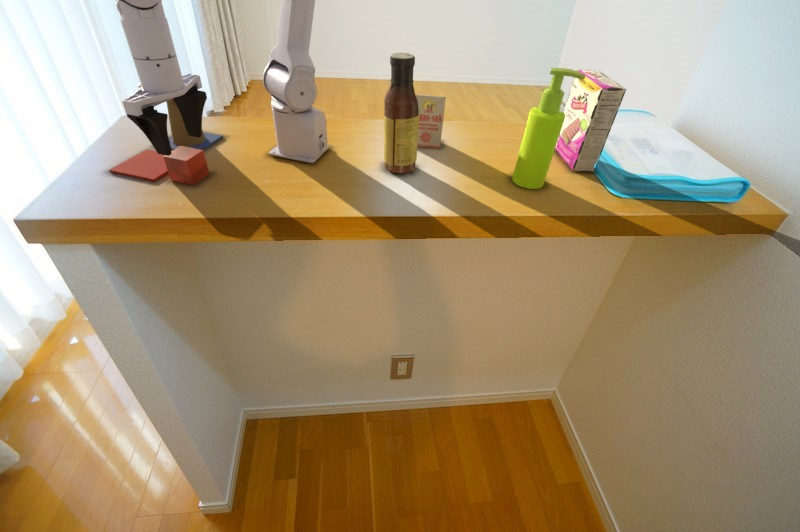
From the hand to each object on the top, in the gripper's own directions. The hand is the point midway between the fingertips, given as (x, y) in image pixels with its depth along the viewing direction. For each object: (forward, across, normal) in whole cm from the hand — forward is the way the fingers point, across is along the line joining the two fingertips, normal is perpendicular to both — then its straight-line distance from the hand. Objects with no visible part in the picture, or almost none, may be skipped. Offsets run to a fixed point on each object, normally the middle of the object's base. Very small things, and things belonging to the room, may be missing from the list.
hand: (180, 144), depth 68 cm
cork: (+6, -12, -9) cm, 16 cm away
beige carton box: (+6, -31, +35) cm, 47 cm away
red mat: (+6, -1, -9) cm, 11 cm away
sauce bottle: (+6, -18, +33) cm, 38 cm away
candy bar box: (+6, -35, +66) cm, 75 cm away
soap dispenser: (+6, -22, +58) cm, 62 cm away
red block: (+6, 0, 0) cm, 6 cm away
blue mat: (+6, -12, -9) cm, 16 cm away
